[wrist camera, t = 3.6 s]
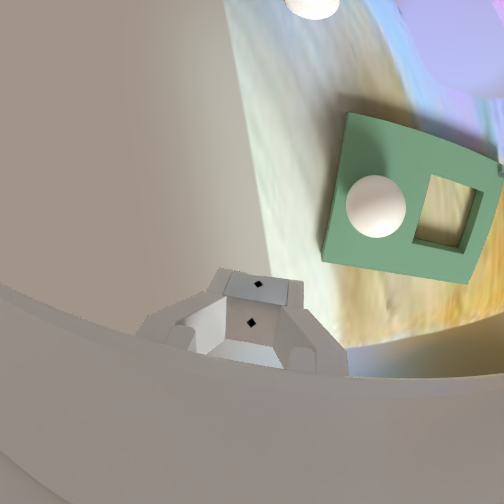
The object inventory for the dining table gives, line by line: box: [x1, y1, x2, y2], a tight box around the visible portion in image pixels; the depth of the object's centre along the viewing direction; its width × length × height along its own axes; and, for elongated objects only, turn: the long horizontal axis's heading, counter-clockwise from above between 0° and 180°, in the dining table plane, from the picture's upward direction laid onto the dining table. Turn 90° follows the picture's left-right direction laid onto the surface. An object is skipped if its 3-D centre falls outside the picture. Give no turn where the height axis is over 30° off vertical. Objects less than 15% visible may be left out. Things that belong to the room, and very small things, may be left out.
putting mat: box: [321, 112, 504, 285], centre depth 17 cm, size 17×18×14 cm
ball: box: [346, 175, 406, 238], centre depth 21 cm, size 5×5×5 cm
